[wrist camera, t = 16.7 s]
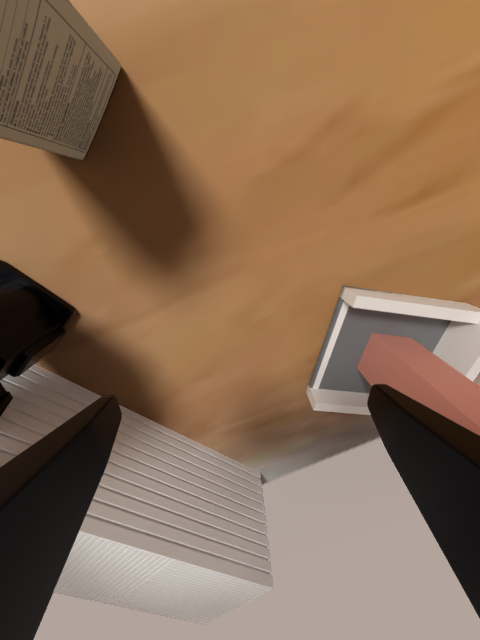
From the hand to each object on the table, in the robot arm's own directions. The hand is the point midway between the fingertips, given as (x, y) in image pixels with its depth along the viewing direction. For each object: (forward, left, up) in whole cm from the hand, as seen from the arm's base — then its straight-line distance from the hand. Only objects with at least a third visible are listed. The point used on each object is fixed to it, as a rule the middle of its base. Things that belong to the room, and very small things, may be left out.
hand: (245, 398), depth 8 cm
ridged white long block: (+4, -23, -14) cm, 27 cm away
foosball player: (+15, +5, -13) cm, 20 cm away
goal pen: (+15, +5, -13) cm, 20 cm away
